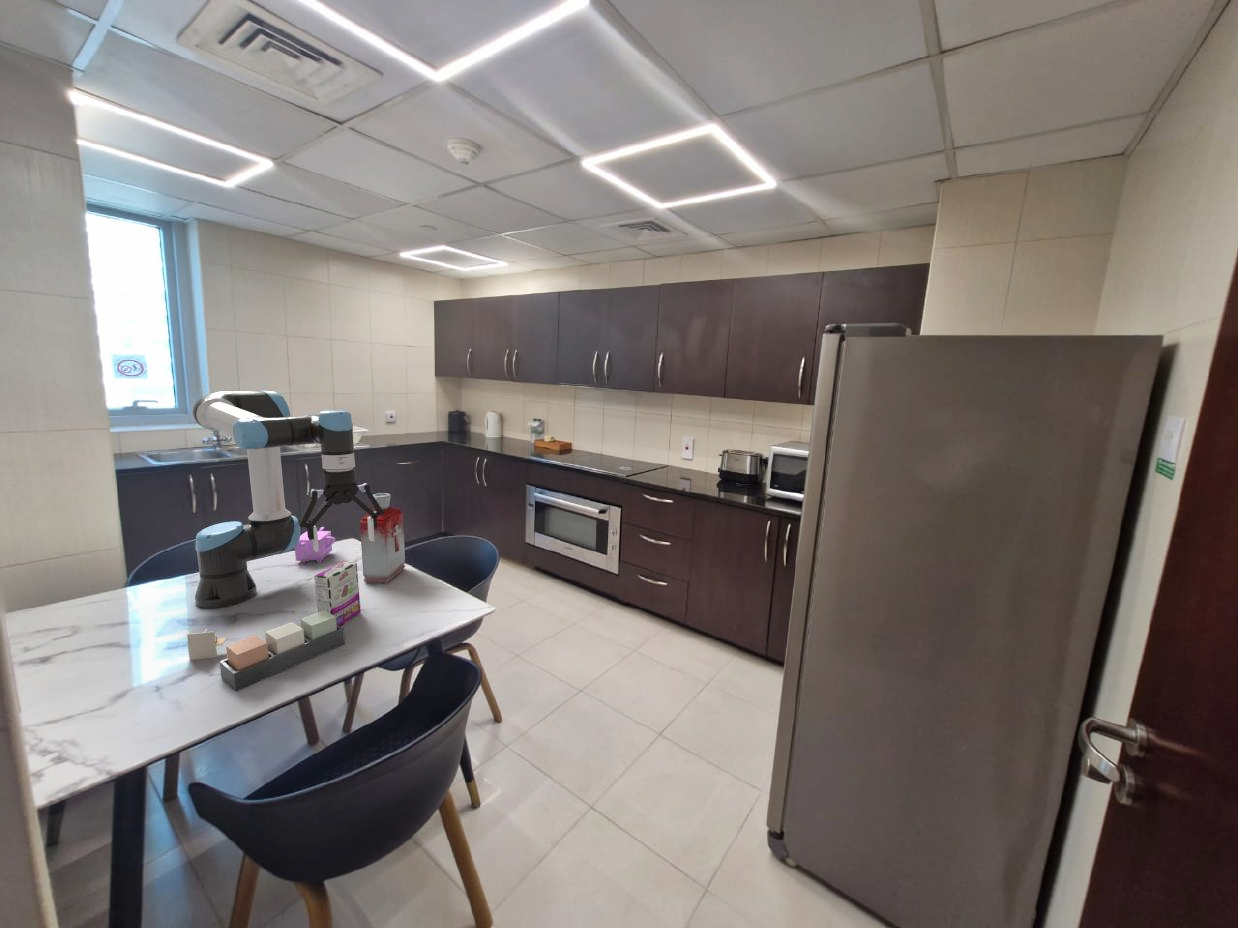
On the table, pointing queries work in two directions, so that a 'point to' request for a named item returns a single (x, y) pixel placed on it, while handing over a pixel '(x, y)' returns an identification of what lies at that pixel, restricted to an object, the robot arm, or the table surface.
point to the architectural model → (203, 645)
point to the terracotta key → (246, 652)
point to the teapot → (306, 550)
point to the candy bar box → (339, 591)
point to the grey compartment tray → (280, 660)
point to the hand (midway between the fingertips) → (344, 545)
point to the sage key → (318, 625)
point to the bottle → (383, 543)
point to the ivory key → (284, 638)
